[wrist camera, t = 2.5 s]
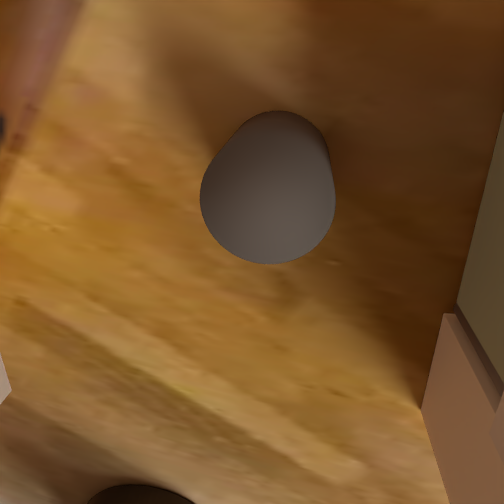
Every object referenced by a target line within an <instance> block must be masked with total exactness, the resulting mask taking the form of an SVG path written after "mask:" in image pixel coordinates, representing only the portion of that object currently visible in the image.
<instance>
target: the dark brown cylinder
mask: <svg viewBox="0 0 504 504" xmlns="http://www.w3.org/2000/svg"><path fill="white" fill-rule="evenodd" d="M200 206H201V211H202V216H203V218H204V221H205V224H206V226H207V227H208V229H209V231H210V233H211V234H212V235H213V237H214V238H215V239H216V240H217V241H218V243H219V244H220V245H222V246H223V247H224V248H225V249H226V250H228V251H229V252H231V253H232V254H234V255H236V256H238V257H239V258H242V259H244V260H247V261H251V262H255V263H261V264H279V263H284V262H289V261H292V260H295V259H297V258H299V257H301V256H303V255H305V254H306V253H308V252H309V251H311V250H312V249H313V248H314V247H316V246H317V245H318V244H319V243H320V241H321V240H322V239H323V238H324V236H325V235H326V233H327V232H328V230H329V228H330V226H331V224H332V221H333V217H334V213H335V208H336V196H335V188H334V182H333V176H332V170H331V164H330V158H329V152H328V148H327V145H326V143H325V140H324V138H323V137H322V135H321V133H320V132H319V131H318V129H317V128H316V127H315V126H314V125H313V124H312V123H311V122H309V121H308V120H307V119H305V118H303V117H301V116H299V115H297V114H294V113H291V112H286V111H270V112H264V113H261V114H258V115H256V116H254V117H252V118H251V119H249V120H247V121H246V122H245V123H244V124H243V125H241V127H240V128H239V129H238V130H237V131H236V132H235V133H234V135H233V136H232V137H231V138H230V139H229V141H228V142H227V143H226V144H225V146H224V147H223V148H222V149H221V150H220V152H219V153H218V154H217V155H216V156H215V158H214V159H213V160H212V161H211V163H210V164H209V166H208V168H207V170H206V172H205V174H204V177H203V180H202V183H201V189H200Z"/></svg>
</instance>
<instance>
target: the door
mask: <svg viewBox="0 0 504 504" xmlns="http://www.w3.org/2000/svg"><path fill="white" fill-rule="evenodd" d="M456 302H457V303H456V304H455V305H454V308H453V311H454V313H455V315H456V317H457V318H458V320H459V322H460V324H461V326H462V327H463V329H464V331H465V333H466V335H467V336H468V338H469V340H470V342H471V344H472V346H473V347H474V349H475V351H476V353H477V355H478V356H479V358H480V360H481V362H482V364H483V365H484V367H485V369H486V371H487V373H488V375H489V376H490V378H491V380H492V382H493V384H494V385H495V387H496V389H497V391H498V393H499V394H500V396H501V397H502V394H503V391H504V112H503V116H502V120H501V124H500V128H499V132H498V136H497V140H496V144H495V148H494V152H493V156H492V160H491V164H490V168H489V172H488V176H487V180H486V184H485V188H484V192H483V196H482V200H481V204H480V208H479V212H478V216H477V221H476V225H475V229H474V233H473V237H472V241H471V245H470V249H469V253H468V257H467V261H466V265H465V269H464V273H463V277H462V281H461V285H460V289H459V293H458V297H457V301H456Z"/></svg>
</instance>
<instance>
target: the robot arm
mask: <svg viewBox="0 0 504 504" xmlns="http://www.w3.org/2000/svg"><path fill="white" fill-rule="evenodd" d="M11 391H12V390H11V386H10V383H9V380H8V377H7V373H6V370H5V367H4V364H3V360H2V357H1V354H0V404H1V403H2V402H3V400H4V399H5V398H6V397H7V396H8V394H9V393H10V392H11ZM489 435H490V437H491V439H492V441H493V443H494V445H495V447H496V450H497V452H498V454H499V456H500V458H501V460H502V462H503V465H504V391H503V394H502V397H501V400H500V403H499V406H498V409H497V412H496V414H495V417H494V420H493V423H492V426H491V429H490V432H489ZM88 504H192V503H190V502H189V501H187V500H185V499H184V498H182V497H180V496H178V495H176V494H173V493H171V492H168V491H165V490H162V489H158V488H154V487H148V486H139V485H126V486H117V487H113V488H109V489H106V490H104V491H102V492H100V493H98V494H97V495H95V496H94V497H93V498H92V499H91V500H90V501H89V503H88Z"/></svg>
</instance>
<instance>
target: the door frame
mask: <svg viewBox="0 0 504 504" xmlns="http://www.w3.org/2000/svg"><path fill="white" fill-rule="evenodd" d="M500 400H501V396H500V394H499V393H498V391H497V389H496V387H495V385H494V384H493V382H492V380H491V378H490V376H489V375H488V373H487V371H486V369H485V367H484V365H483V364H482V362H481V360H480V358H479V356H478V355H477V353H476V351H475V349H474V347H473V346H472V344H471V342H470V340H469V338H468V336H467V335H466V333H465V331H464V329H463V327H462V326H461V324H460V322H459V320H458V318H457V317H456V315H455V314H451V313H444V314H443V318H442V322H441V326H440V331H439V335H438V339H437V343H436V347H435V352H434V356H433V360H432V364H431V369H430V373H429V377H428V381H427V386H426V390H425V394H424V398H423V403H422V407H421V413H422V416H423V420H424V423H425V426H426V429H427V432H428V435H429V439H430V442H431V445H432V448H433V451H434V454H435V458H436V461H437V464H438V467H439V470H440V474H441V477H442V480H443V483H444V486H445V489H446V493H447V496H448V499H449V502H450V504H504V465H503V462H502V460H501V458H500V456H499V454H498V452H497V450H496V447H495V445H494V443H493V441H492V439H491V437H490V435H489V432H490V429H491V426H492V423H493V420H494V417H495V414H496V412H497V409H498V406H499V403H500Z"/></svg>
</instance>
